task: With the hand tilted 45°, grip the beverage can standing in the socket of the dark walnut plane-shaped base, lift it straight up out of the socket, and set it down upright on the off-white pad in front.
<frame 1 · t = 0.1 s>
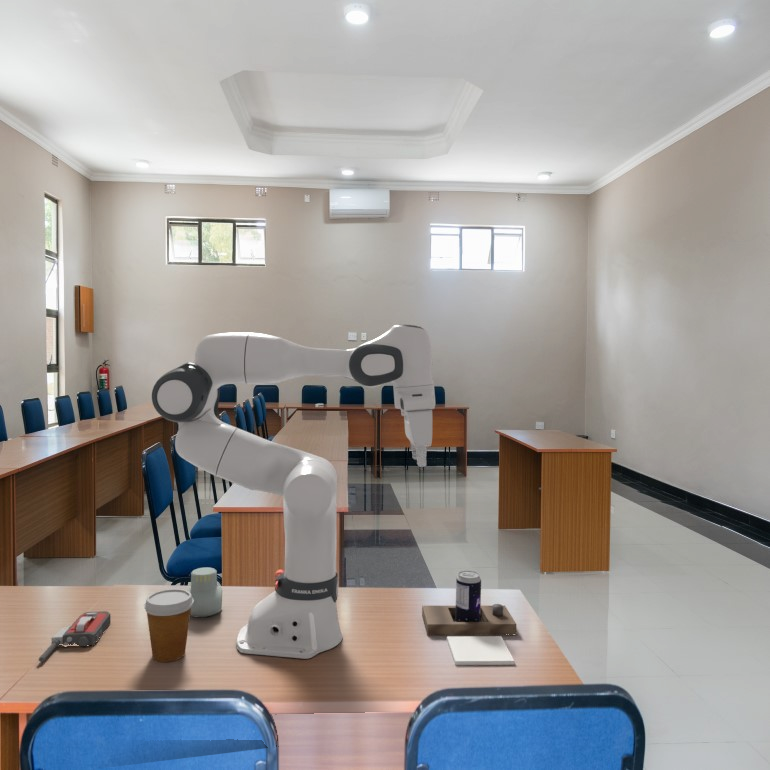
hand: (419, 462, 133), 39 cm above the table, tool pointing down, fingers open, 8 cm apart
walkie-talkie: (77, 643, 130), on the table
beverage can: (467, 626, 142), resting in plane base
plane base: (467, 625, 142), on the table
air freshener: (203, 613, 146), on the table
pad: (479, 651, 129), on the table
disposable coffee cup: (168, 655, 125), on the table
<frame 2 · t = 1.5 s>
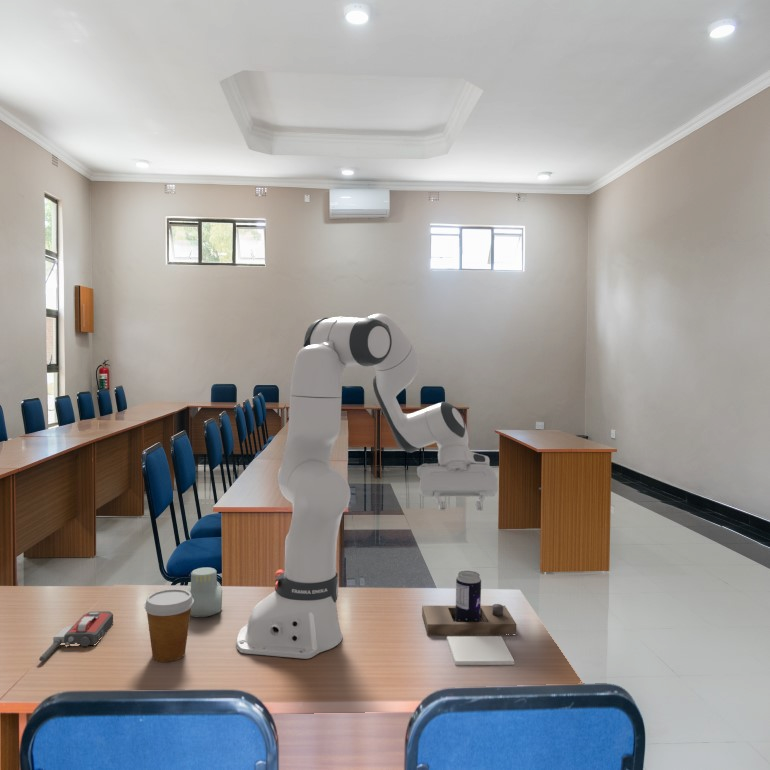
hand: (461, 509, 154), 24 cm above the table, tool tilted 45°, fingers open, 8 cm apart
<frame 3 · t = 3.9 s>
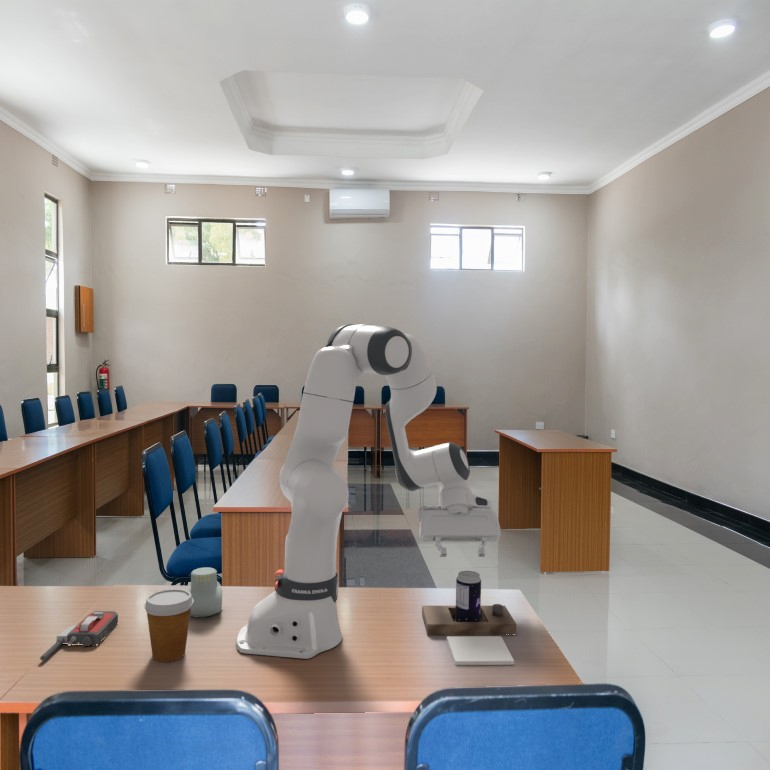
hand: (462, 556, 150), 14 cm above the table, tool tilted 45°, fingers open, 8 cm apart
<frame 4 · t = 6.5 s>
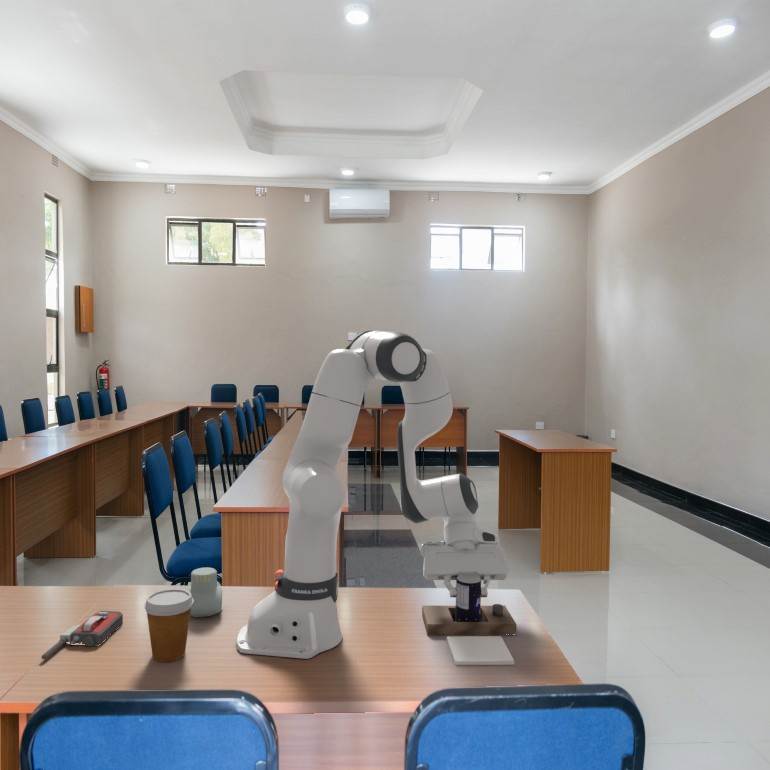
hand: (468, 596, 141), 7 cm above the table, tool tilted 45°, fingers closed on beverage can, 6 cm apart
beverage can: (467, 626, 142), resting in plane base, touching gripper
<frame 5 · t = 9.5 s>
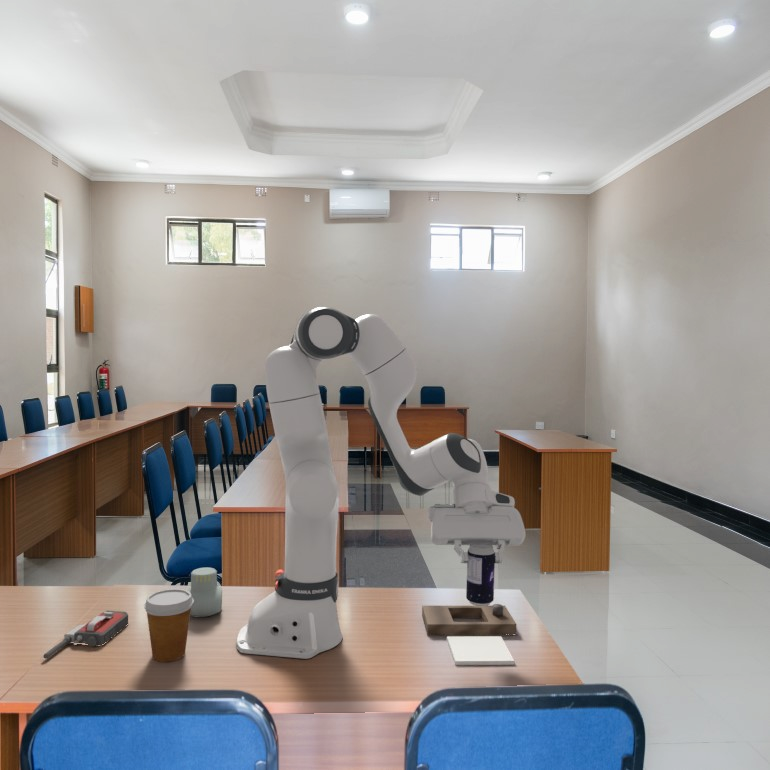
hand: (481, 562, 128), 19 cm above the table, tool tilted 45°, fingers closed on beverage can, 6 cm apart
beverage can: (479, 603, 129), point 10 cm above the table, touching gripper
when the fingers open (9 cm above the table, at t = 12.5 s): beverage can stays where it is, resting on pad.
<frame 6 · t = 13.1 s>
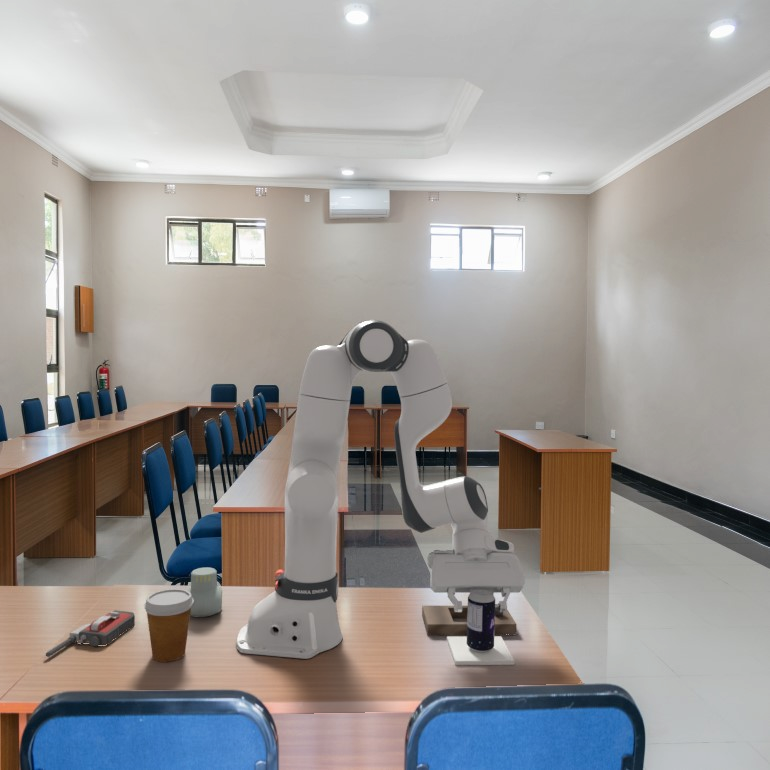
hand: (481, 611, 128), 9 cm above the table, tool tilted 45°, fingers open, 8 cm apart
beverage can: (480, 649, 129), point 1 cm above the table, touching pad
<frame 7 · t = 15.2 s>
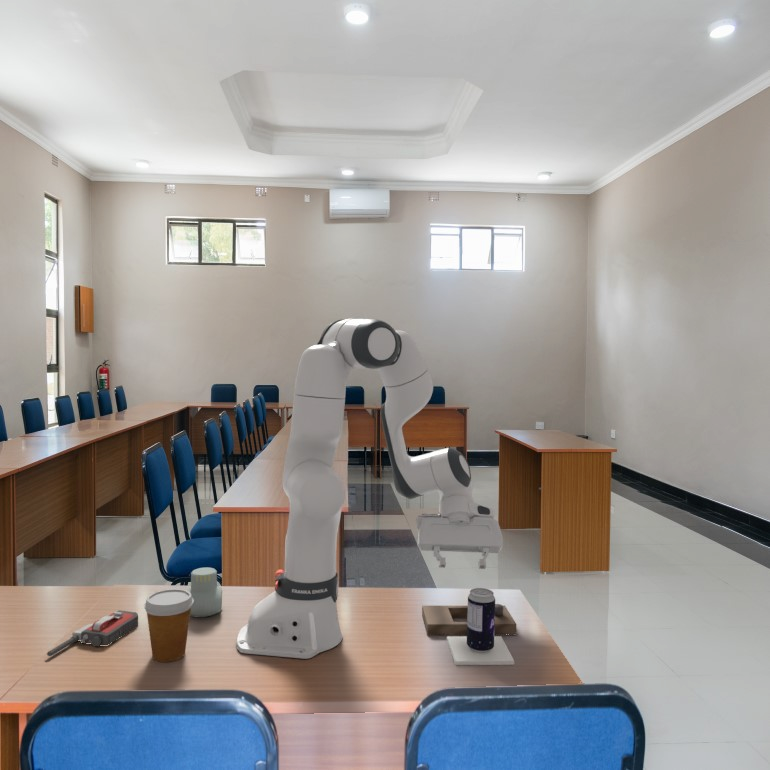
hand: (462, 567, 142), 13 cm above the table, tool tilted 45°, fingers open, 8 cm apart
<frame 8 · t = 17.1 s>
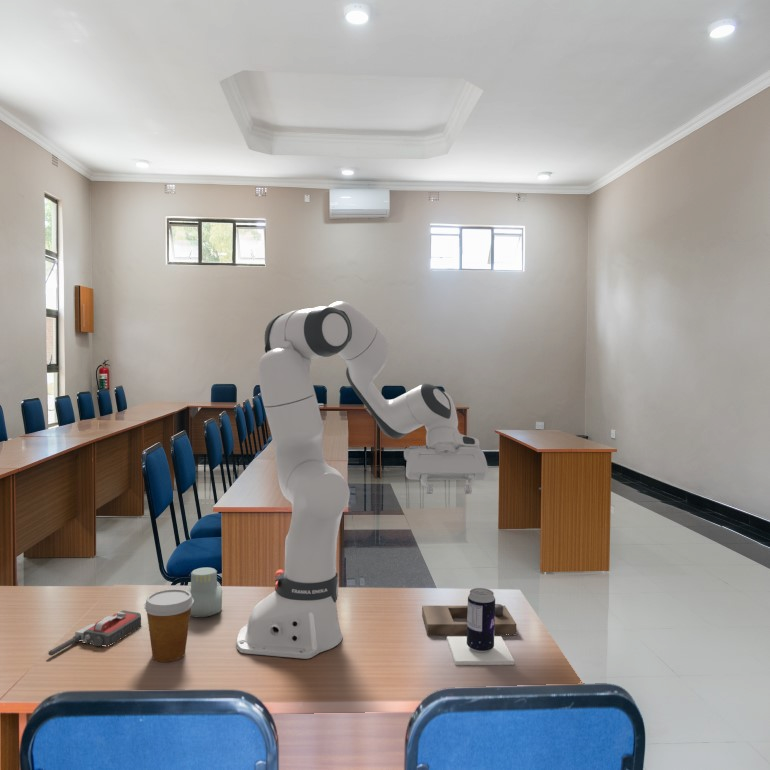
hand: (449, 492, 148), 29 cm above the table, tool tilted 45°, fingers open, 8 cm apart
at the end: beverage can inside the target area on the pad (0.3 cm from its centre), point 0.6 cm above the pad's base; beverage can tilted 0°; the gripper is holding nothing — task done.
